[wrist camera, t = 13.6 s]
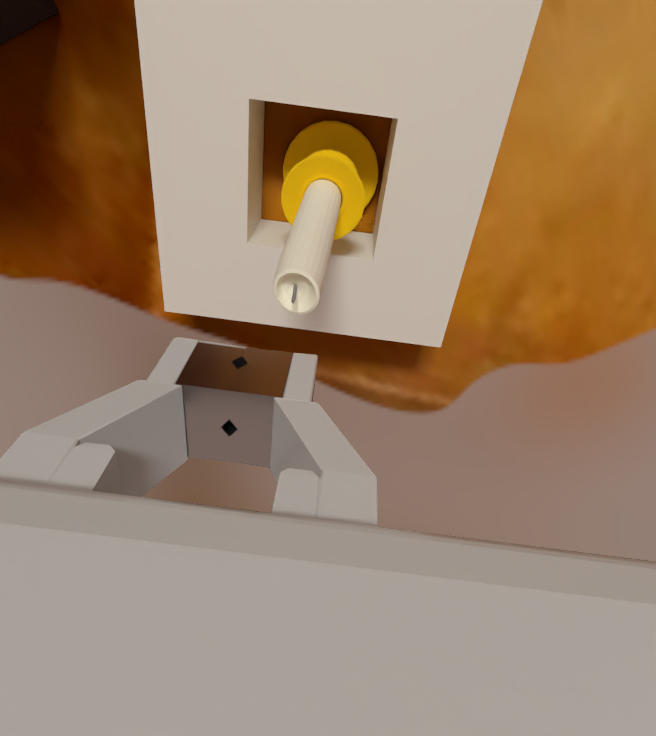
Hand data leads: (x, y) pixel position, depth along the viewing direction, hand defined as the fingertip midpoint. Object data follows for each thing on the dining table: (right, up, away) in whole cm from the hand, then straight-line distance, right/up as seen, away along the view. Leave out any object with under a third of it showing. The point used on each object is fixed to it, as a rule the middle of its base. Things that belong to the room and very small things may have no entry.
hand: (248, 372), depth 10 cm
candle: (+2, +11, +16) cm, 20 cm away
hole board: (+1, +11, +16) cm, 19 cm away
